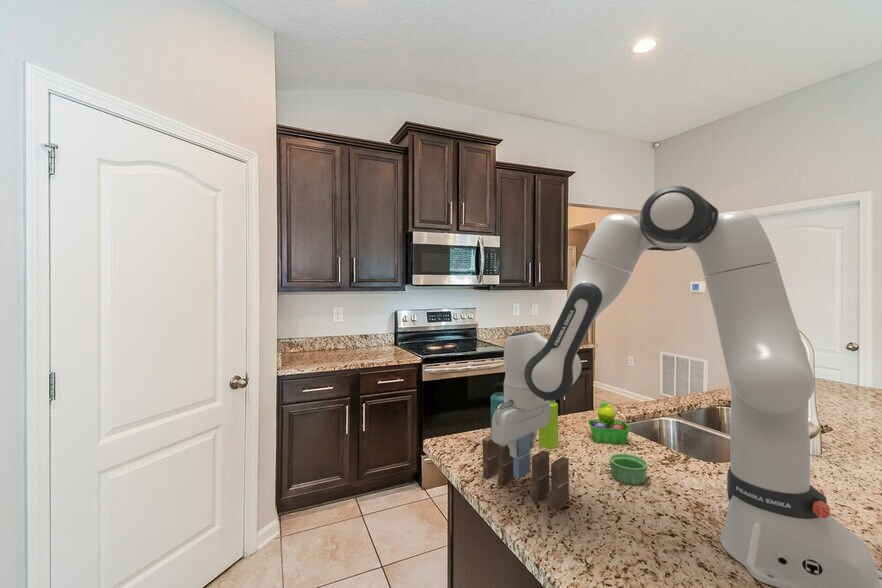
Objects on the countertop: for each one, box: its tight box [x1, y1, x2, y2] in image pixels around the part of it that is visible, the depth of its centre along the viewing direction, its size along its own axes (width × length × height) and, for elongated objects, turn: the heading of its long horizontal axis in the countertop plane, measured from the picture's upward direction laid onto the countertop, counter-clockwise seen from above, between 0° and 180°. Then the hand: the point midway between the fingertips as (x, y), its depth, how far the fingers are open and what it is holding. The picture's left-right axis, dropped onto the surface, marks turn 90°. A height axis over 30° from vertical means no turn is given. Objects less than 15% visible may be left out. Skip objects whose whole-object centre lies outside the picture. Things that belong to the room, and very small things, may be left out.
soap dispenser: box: [538, 401, 559, 449], centre depth 120 cm, size 6×7×20 cm
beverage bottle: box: [490, 381, 504, 434], centre depth 119 cm, size 6×7×20 cm
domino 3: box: [513, 434, 532, 480], centre depth 94 cm, size 2×5×10 cm, turn 133°
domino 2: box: [497, 444, 516, 487], centre depth 98 cm, size 2×5×10 cm, turn 133°
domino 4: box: [531, 449, 551, 503], centre depth 91 cm, size 2×5×10 cm, turn 134°
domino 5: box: [550, 456, 570, 512], centre depth 87 cm, size 2×5×10 cm, turn 134°
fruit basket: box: [587, 401, 631, 445], centre depth 124 cm, size 11×9×11 cm
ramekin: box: [608, 453, 649, 485], centre depth 99 cm, size 9×9×4 cm
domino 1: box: [482, 435, 498, 480], centre depth 101 cm, size 2×5×10 cm, turn 134°
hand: (522, 452), depth 94 cm, fingers closed on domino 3, 5 cm apart
